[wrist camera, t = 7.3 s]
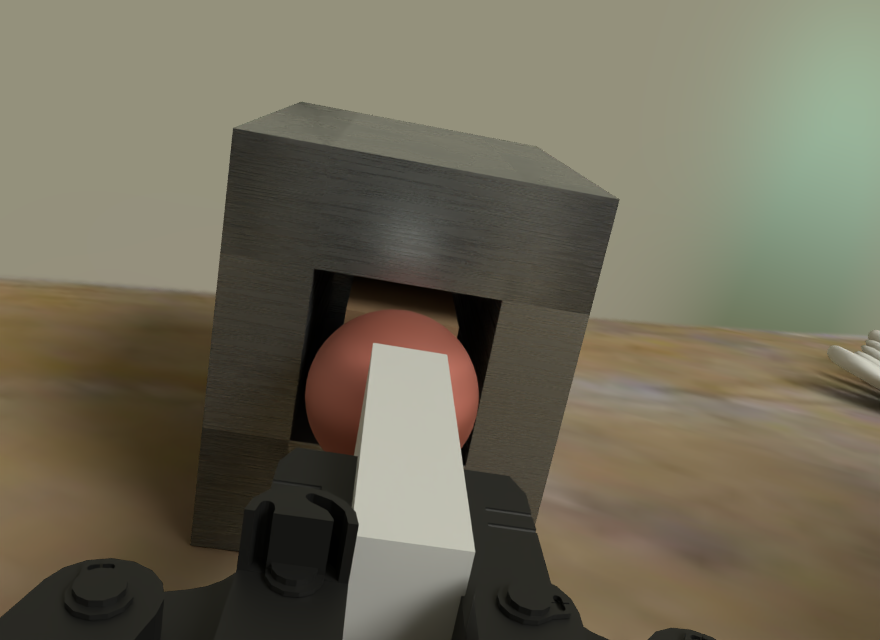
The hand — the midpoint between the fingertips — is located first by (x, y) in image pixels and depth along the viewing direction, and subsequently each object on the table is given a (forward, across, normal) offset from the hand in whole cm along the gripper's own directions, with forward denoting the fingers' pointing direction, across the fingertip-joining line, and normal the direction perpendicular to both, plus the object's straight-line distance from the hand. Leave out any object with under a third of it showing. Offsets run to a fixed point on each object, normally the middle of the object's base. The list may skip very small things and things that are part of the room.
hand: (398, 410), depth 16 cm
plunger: (+7, 0, -3) cm, 8 cm away
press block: (+10, 0, -6) cm, 12 cm away
